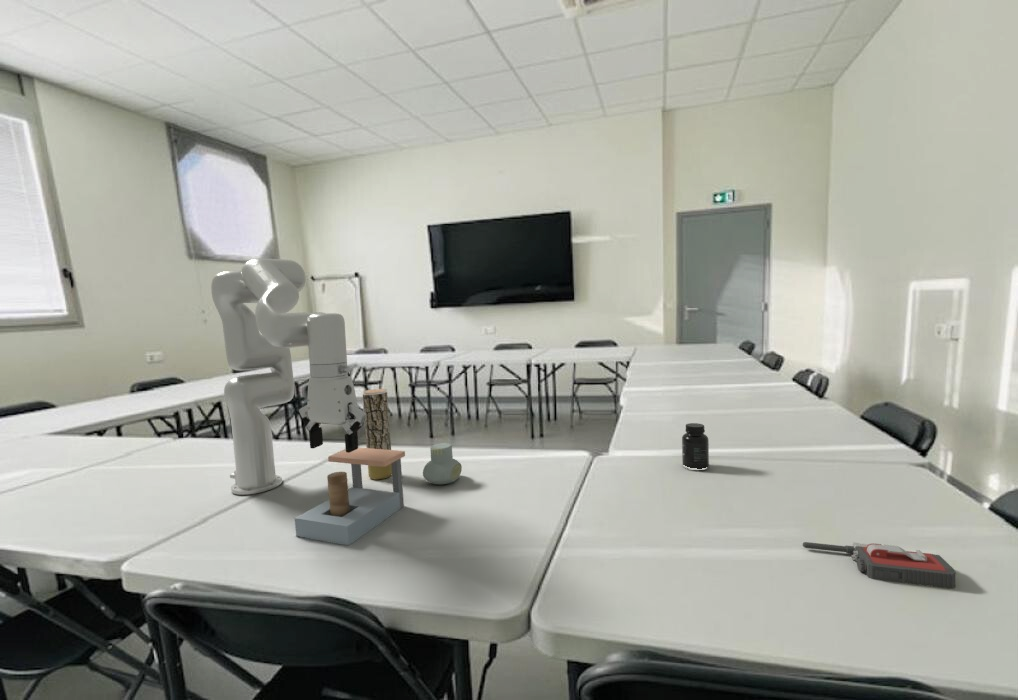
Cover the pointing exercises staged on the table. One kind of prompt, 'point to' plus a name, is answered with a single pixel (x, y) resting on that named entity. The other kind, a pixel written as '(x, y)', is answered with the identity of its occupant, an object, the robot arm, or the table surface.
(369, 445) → the bark textured cylinder
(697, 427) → the supplement bottle
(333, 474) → the peg
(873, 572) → the walkie-talkie
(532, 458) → the table surface
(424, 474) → the air freshener
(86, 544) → the table surface
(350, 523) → the socket deck
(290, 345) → the robot arm
